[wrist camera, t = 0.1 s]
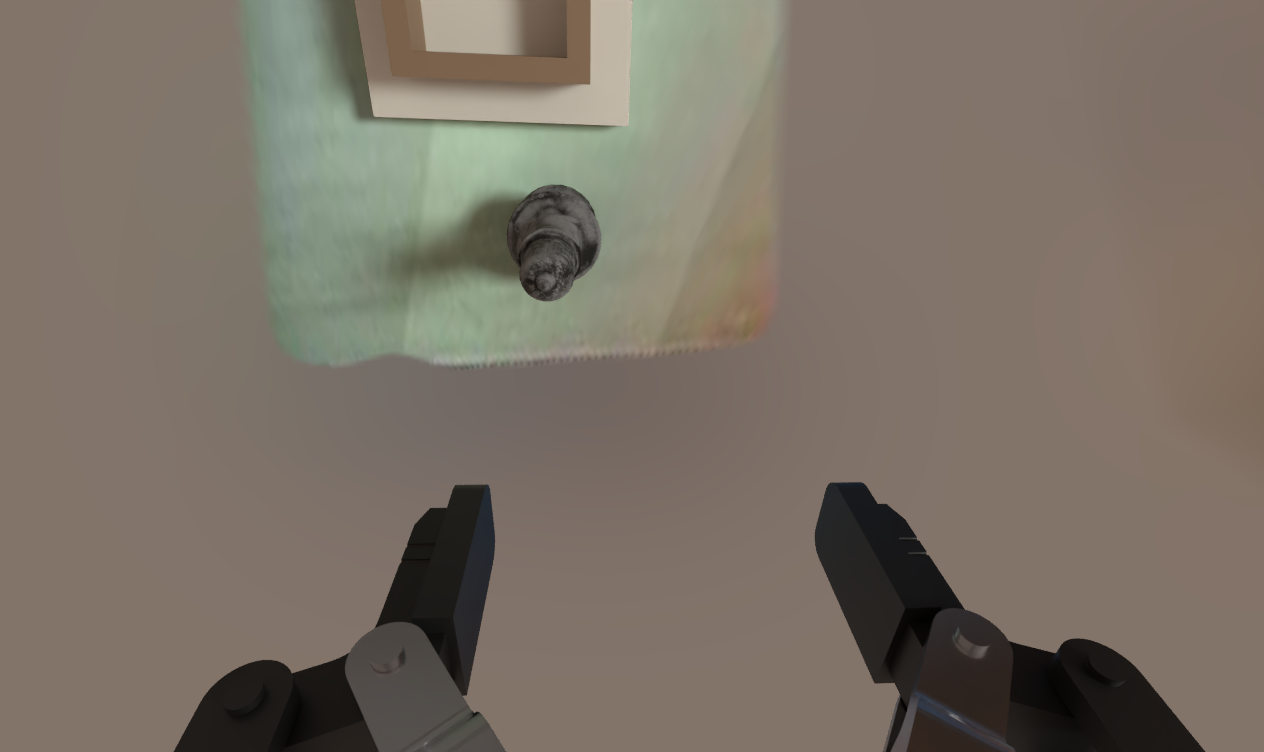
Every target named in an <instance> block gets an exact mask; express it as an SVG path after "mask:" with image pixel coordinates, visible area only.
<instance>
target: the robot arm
mask: <svg viewBox="0 0 1264 752" xmlns="http://www.w3.org/2000/svg"><path fill="white" fill-rule="evenodd" d="M815 546H816V551H817V554H818V557H819V559H820V561H821V564H822V566H823V568H824V570H825V573H826V575H827V577H828V580H829V582H830V584H831V586H832V589H833V591H834V593H835V595H836V597H837V600H838V602H839V604H840V606H841V609H842V611H843V613H844V616H845V618H846V620H847V622H848V625H849V627H850V629H851V631H852V634H853V636H854V638H855V640H856V642H857V645H858V647H859V649H860V652H861V654H862V656H863V658H864V661H865V663H866V665H867V667H868V670H869V672H870V674H871V676H872V679H873V681H874V683H895V685H896V687H897V689H898V691H899V693H900V695H899V697H898V699H897V702H896V705H895V709H894V713H893V716H892V720H891V724H890V727H889V731H888V735H887V738H886V742H885V746H884V750H883V752H1205V751H1204V750H1203V748H1202V747H1201V746H1200V745H1199V743H1198V742H1197V741H1196V740H1195V739H1194V737H1193V736H1192V735H1191V734H1190V733H1189V731H1188V730H1187V729H1186V728H1185V726H1184V725H1183V724H1182V723H1181V721H1180V720H1179V719H1178V718H1177V717H1176V715H1175V714H1174V713H1173V712H1172V710H1171V709H1170V708H1169V707H1168V706H1167V704H1166V703H1165V702H1164V701H1163V699H1162V698H1161V697H1160V696H1159V694H1158V693H1157V692H1156V691H1155V690H1154V689H1153V687H1152V686H1151V685H1150V683H1149V682H1148V681H1147V680H1146V679H1145V677H1144V676H1143V675H1142V674H1141V673H1140V671H1139V670H1138V669H1137V668H1136V667H1135V666H1134V665H1133V664H1132V663H1131V662H1129V661H1128V660H1127V659H1126V658H1124V657H1123V656H1122V655H1120V654H1119V653H1117V652H1116V651H1114V650H1112V649H1110V648H1108V647H1107V646H1104V645H1102V644H1099V643H1097V642H1094V641H1091V640H1086V639H1070V640H1067V641H1065V642H1063V644H1062V645H1061V646H1060V648H1059V649H1058V651H1057V652H1056V653H1052V652H1048V651H1044V650H1040V649H1036V648H1032V647H1028V646H1024V645H1020V644H1016V643H1013V642H1010V641H1008V639H1007V638H1006V636H1005V635H1004V634H1003V633H1002V632H1001V630H999V629H998V628H997V627H996V626H995V625H994V624H993V623H991V622H990V621H989V620H987V619H985V618H984V617H982V616H980V615H978V614H976V613H974V612H971V611H968V610H965V609H964V608H963V606H962V605H961V603H960V602H959V600H958V598H957V597H956V595H955V594H954V593H953V591H952V589H951V588H950V586H949V585H948V584H947V582H946V580H945V579H944V577H943V576H942V574H941V573H940V571H939V570H938V568H937V567H936V565H935V564H934V562H933V561H932V559H931V558H930V556H929V555H927V554H926V550H925V549H924V547H923V546H922V545H921V543H920V541H917V537H916V535H915V534H914V532H913V531H912V529H911V528H910V526H909V525H908V523H907V522H906V520H905V519H904V518H903V517H902V516H900V515H899V514H898V513H897V512H895V511H894V510H893V509H892V508H890V507H889V506H888V505H887V504H877V502H876V501H875V499H874V497H873V496H872V494H871V493H870V491H869V489H868V488H867V486H866V485H865V484H864V483H861V482H851V483H850V482H848V483H830V484H829V485H828V486H827V488H826V491H825V495H824V499H823V503H822V507H821V510H820V514H819V518H818V522H817V526H816V530H815ZM494 551H495V531H494V522H493V513H492V504H491V495H490V488H489V485H455V487H454V488H453V491H452V494H451V498H450V500H449V504H448V507H447V508H430V509H429V510H428V511H427V512H426V513H425V514H424V515H423V516H422V518H420V520H419V521H418V522H417V523H416V524H415V525H414V528H413V530H412V533H411V536H410V538H409V541H408V544H407V548H406V549H405V551H404V554H403V557H402V562H401V563H400V565H399V567H398V570H397V573H396V575H395V578H394V581H393V583H392V586H391V588H390V591H389V594H388V596H387V599H386V602H385V604H384V607H383V610H382V612H381V615H380V618H379V620H378V623H377V625H376V627H375V628H374V629H373V630H371V631H370V632H368V633H367V634H365V635H364V636H363V637H362V638H361V639H360V640H359V641H358V642H357V643H356V644H355V645H354V647H353V648H352V649H351V651H350V653H348V654H346V655H345V656H342V657H341V658H338V659H336V660H333V661H330V662H327V663H324V664H321V665H318V666H315V667H311V668H308V669H305V670H302V671H299V672H295V673H291V671H290V669H289V668H288V667H287V666H286V665H284V664H283V663H281V662H278V661H273V660H261V661H255V662H252V663H248V664H246V665H243V666H241V667H239V668H237V669H235V670H233V671H231V672H230V673H228V674H227V675H225V676H224V677H223V678H221V679H220V680H219V681H218V682H217V683H216V684H215V685H214V686H212V687H211V688H210V690H209V691H208V692H207V693H206V695H205V696H204V697H203V699H202V701H201V702H200V704H199V706H198V708H197V710H196V712H195V713H194V716H193V717H192V719H191V721H190V723H189V724H188V726H187V728H186V730H185V732H184V734H183V735H182V737H181V739H180V741H179V743H178V745H177V747H176V749H175V751H174V752H506V751H505V749H504V748H503V746H502V745H501V743H500V741H499V740H498V738H497V736H496V735H495V733H494V731H493V730H492V728H491V726H490V725H489V723H488V722H487V720H486V719H485V718H484V717H483V715H482V714H481V713H479V712H476V713H474V712H473V711H472V710H471V709H470V707H469V706H468V704H467V703H466V701H465V699H464V698H463V695H467V691H468V686H469V682H470V676H471V671H472V666H473V661H474V656H475V651H476V646H477V641H478V636H479V631H480V626H481V621H482V615H483V610H484V605H485V600H486V595H487V590H488V585H489V580H490V575H491V570H492V565H493V560H494Z"/></svg>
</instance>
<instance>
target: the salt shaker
mask: <svg viewBox="0 0 1264 752" xmlns="http://www.w3.org/2000/svg"><path fill="white" fill-rule="evenodd" d="M507 241H508V247H509V250H510V253H511V256H512V257H513V259H514V261H515V262H516V264H517V265H518V267H520V272H519V274H520V281H521V284H522V287H523V288H524V290H525V291H526V292H527V293H528V294H529V295H530V296H531V297H533V298H535V299H537V300H541V301H554V300H558V299H560V298H562V297H563V296H564V295H565V294H567V293H568V292H569V290H570V288H571V287H572V285H573V281H574V280H576V279H578V278H580V277H582V276H584V275H585V274H586V273H587V272H588V271H589V270H590V269H591V268H592V267H593V265H594V263H595V262H596V260H597V258H598V255H599V252H600V248H601V232H600V228H599V224H598V221H597V220H596V218H595V214H594V210H593V208H592V207H591V205H590V203H589V201H588V200H587V199H586V198H585V197H584V196H583V195H582V194H581V193H579V192H578V191H576V190H574V189H573V188H570V187H567V186H563V185H548V186H544V187H541V188H539V189H537V190H536V191H534V192H532V193H531V194H530V195H529V196H528V197H527V198H526V199H525V200H524V201H523V202H522V203H521V204H520V205H519V206H518V207H517V208H516V209H515V211H514V213H513V215H512V217H511V218H510V220H509V225H508V230H507Z"/></svg>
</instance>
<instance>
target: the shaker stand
mask: <svg viewBox="0 0 1264 752" xmlns="http://www.w3.org/2000/svg"><path fill="white" fill-rule="evenodd" d="M354 1H355V7H356V13H357V19H358V25H359V31H360V37H361V43H362V49H363V55H364V61H365V67H366V73H367V79H368V85H369V91H370V97H371V103H372V109H373V115H374V117H393V118H420V119H448V120H475V121H503V122H530V123H557V124H585V125H612V126H628V120H629V91H630V61H631V31H632V2H633V0H354Z"/></svg>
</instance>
